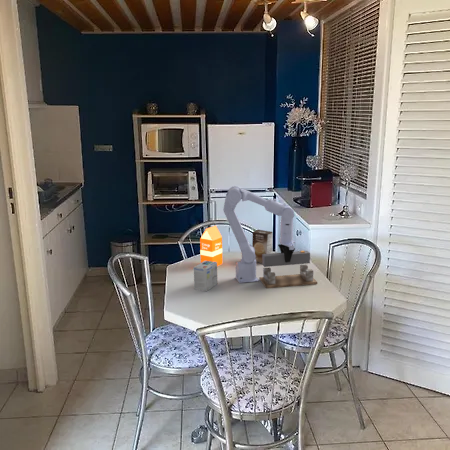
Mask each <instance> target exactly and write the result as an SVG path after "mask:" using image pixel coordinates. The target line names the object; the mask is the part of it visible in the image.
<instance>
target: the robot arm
mask: <svg viewBox="0 0 450 450" xmlns="http://www.w3.org/2000/svg"><path fill="white" fill-rule="evenodd" d="M246 201H250V202H252V203H255V204H257V205H259V206H263V207H264V210H265V211H267V212H268V213H271V214H273V215H275V216H279V217H280V237H279V238H278V239H279V244H278V245H277V247H279V248H278V249H279V251H280V253H284V256H285V262H290V260H291V257H292V254H293V252H295V250H296V248H295V245H294V244H296V240H294V217H295V211H294V209H293V208H292V207H291V206H290V205H288V204H286V203H281V202H279V201H277V199H276V198H269V199H266V198H264V197H262V196H259V195H258V194H256V193H254V192H252V191H249V190H247V189H245V188H240V187H238V186H235V185H234V186H231V187H230V188H229V189H228V190H227V193H226V194H225V199H224V204H223V213H224V215H225V217H226V219H227V222H228V224H229V226H230V229H231V230H232V232H233V234H234V238H235V240H236V242H237V243H238V246H239V249H240V252H241V259H240V261H236V262H235V279H236V281H237V282H238V283H239V284H241V283H253V282H259V281H260V280H259V278H258V277H257V262H256V259H255V258H256V255H255V249H254V247H253V246H252V244H251V243H250V241H249V239H248V237H247V235H246V233H245V231H244V228H243V226H242V224H241V222H240V219H239V218H238V215H237V213H236V211H235V209H236V207H237V205H238V204H239V203H240V202H246Z"/></svg>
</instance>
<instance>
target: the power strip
mask: <svg viewBox="0 0 450 450" xmlns="http://www.w3.org/2000/svg"><path fill="white" fill-rule="evenodd" d="M310 261H311V253H310V252H309V251H308V250H300V251H294V252H293V254H292V257H291V260H290V262H285V256H284V253H281V252H275V253H273V252H272V254H262V263H261V265H262V266H263V268H269V267H270V268H271V267H280V266H293V265H308V264H311V262H310Z"/></svg>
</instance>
